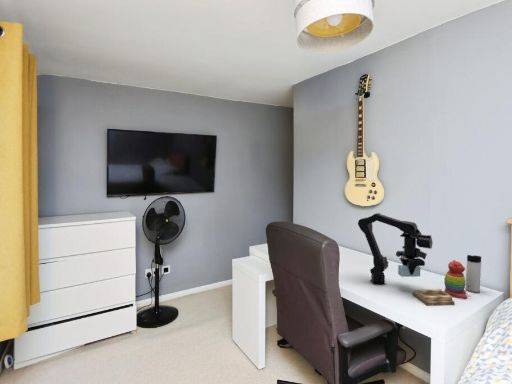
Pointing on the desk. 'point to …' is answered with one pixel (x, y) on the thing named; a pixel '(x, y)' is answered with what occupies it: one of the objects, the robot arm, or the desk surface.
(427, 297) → the jig
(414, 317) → the desk surface
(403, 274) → the blue slab
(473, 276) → the travel mug
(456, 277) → the stacking bear
